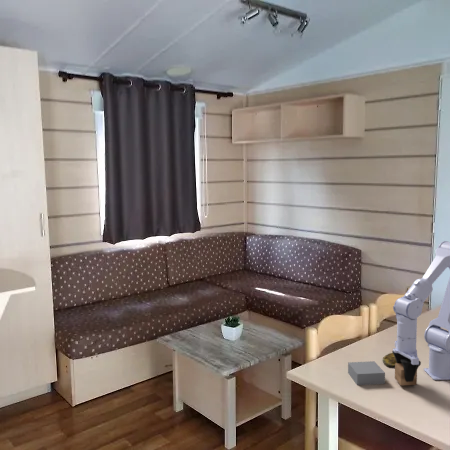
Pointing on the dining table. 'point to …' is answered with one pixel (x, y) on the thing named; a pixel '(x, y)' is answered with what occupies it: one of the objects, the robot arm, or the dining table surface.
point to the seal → (389, 360)
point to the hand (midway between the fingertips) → (405, 377)
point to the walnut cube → (401, 377)
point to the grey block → (366, 373)
